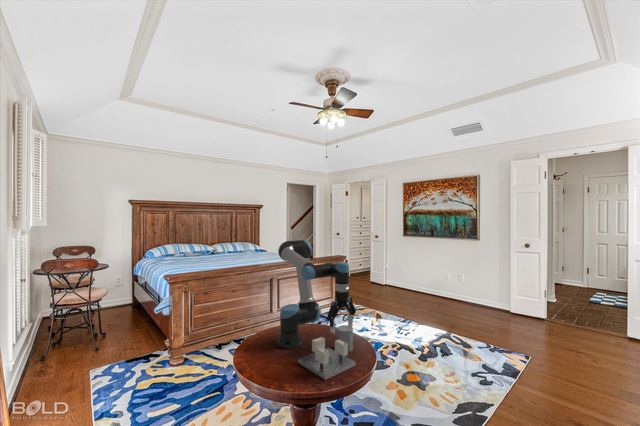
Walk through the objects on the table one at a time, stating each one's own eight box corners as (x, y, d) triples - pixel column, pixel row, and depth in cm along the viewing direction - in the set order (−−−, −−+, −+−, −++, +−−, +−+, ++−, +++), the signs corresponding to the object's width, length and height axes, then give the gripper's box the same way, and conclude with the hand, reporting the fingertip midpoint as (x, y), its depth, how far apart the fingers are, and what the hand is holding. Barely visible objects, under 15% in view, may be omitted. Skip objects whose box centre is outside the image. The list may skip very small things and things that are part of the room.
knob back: (315, 358, 168) (315, 340, 168) (312, 356, 170) (312, 338, 170) (324, 354, 172) (325, 337, 172) (321, 352, 174) (321, 335, 174)
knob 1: (315, 365, 160) (315, 346, 160) (319, 363, 162) (319, 345, 162) (324, 370, 154) (324, 351, 154) (328, 368, 156) (328, 349, 156)
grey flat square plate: (298, 362, 167) (298, 357, 167) (328, 350, 181) (328, 345, 181) (325, 379, 150) (325, 373, 150) (355, 365, 164) (355, 359, 164)
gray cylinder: (352, 352, 179) (352, 332, 179) (335, 351, 181) (336, 330, 181) (353, 345, 188) (353, 325, 188) (338, 344, 190) (338, 324, 190)
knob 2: (334, 357, 169) (334, 339, 169) (338, 355, 171) (338, 338, 171) (343, 362, 164) (343, 343, 163) (347, 360, 166) (347, 342, 165)
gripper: (329, 296, 156) (329, 337, 156) (362, 288, 172) (362, 325, 172) (320, 293, 162) (320, 332, 162) (352, 285, 178) (352, 321, 178)
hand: (341, 329), depth 167 cm, fingers open, 13 cm apart
